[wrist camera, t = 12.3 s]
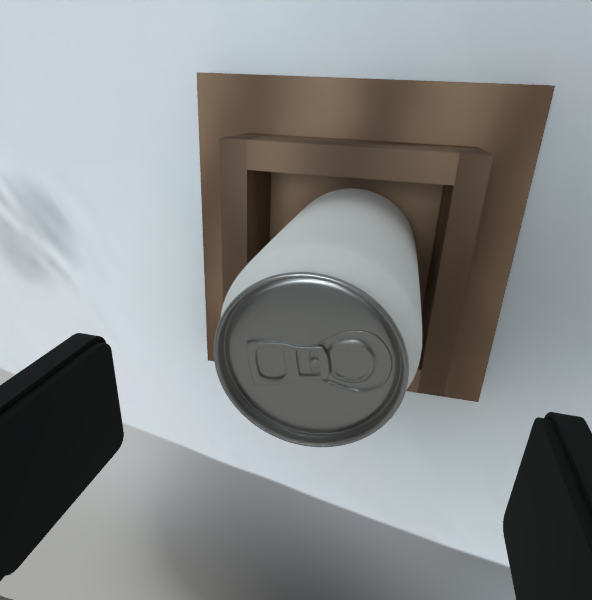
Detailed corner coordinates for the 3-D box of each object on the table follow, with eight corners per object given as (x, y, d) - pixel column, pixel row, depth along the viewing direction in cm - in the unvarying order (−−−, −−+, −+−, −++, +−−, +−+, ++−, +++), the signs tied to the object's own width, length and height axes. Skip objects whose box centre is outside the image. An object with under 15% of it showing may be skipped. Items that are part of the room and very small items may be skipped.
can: (418, 304, 24) (428, 464, 13) (299, 309, 26) (221, 454, 15) (413, 179, 22) (422, 248, 11) (283, 192, 23) (177, 264, 13)
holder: (546, 86, 20) (590, 80, 16) (475, 389, 27) (490, 450, 22) (206, 74, 23) (156, 65, 18) (215, 350, 29) (179, 397, 25)
